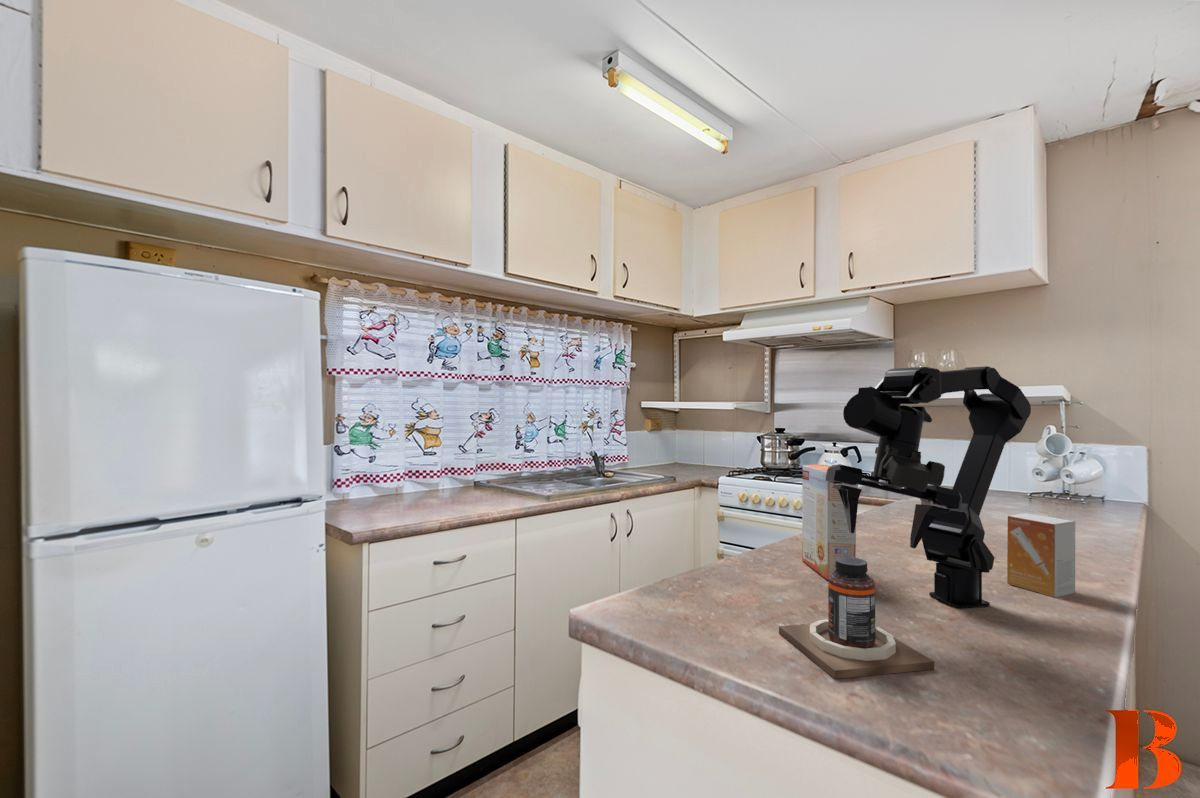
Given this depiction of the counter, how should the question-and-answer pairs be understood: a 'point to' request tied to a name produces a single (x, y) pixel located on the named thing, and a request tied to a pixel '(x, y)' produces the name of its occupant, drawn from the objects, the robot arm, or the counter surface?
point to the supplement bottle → (851, 604)
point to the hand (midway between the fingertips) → (881, 540)
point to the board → (846, 667)
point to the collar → (853, 652)
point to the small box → (1041, 554)
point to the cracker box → (823, 522)
